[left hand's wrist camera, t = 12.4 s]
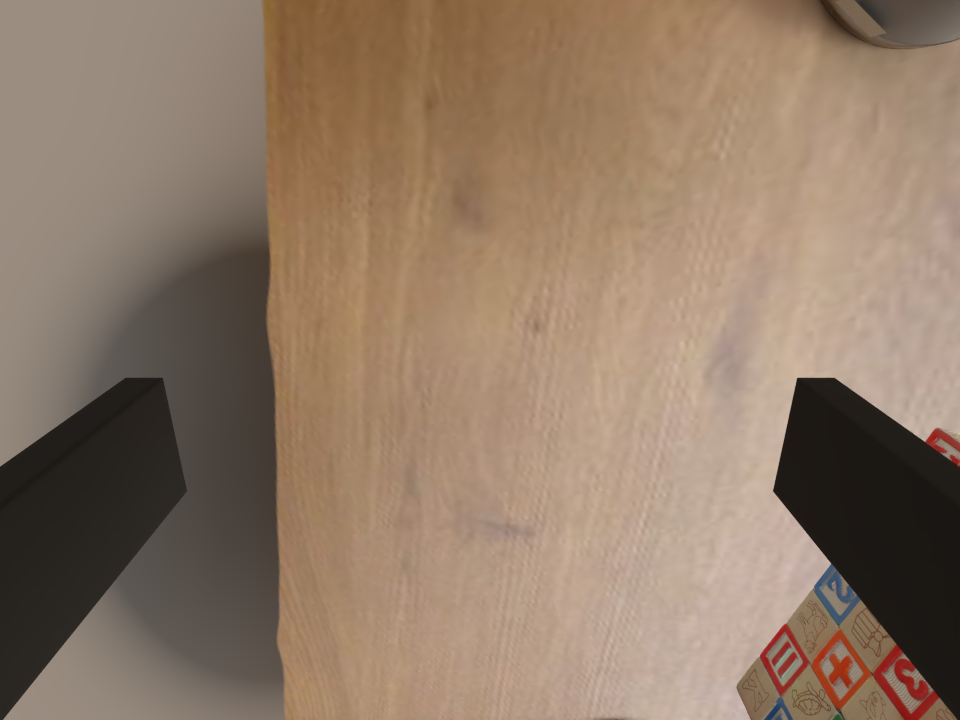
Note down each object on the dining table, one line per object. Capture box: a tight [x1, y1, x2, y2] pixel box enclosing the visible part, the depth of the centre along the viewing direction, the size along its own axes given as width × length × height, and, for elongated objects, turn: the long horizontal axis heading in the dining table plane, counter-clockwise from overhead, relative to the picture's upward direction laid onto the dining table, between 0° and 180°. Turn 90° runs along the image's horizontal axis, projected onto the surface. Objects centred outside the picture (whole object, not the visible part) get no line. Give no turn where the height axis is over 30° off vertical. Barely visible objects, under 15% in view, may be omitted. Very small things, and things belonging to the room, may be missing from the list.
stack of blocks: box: [737, 428, 960, 720], centre depth 31 cm, size 21×6×12 cm, turn 159°
